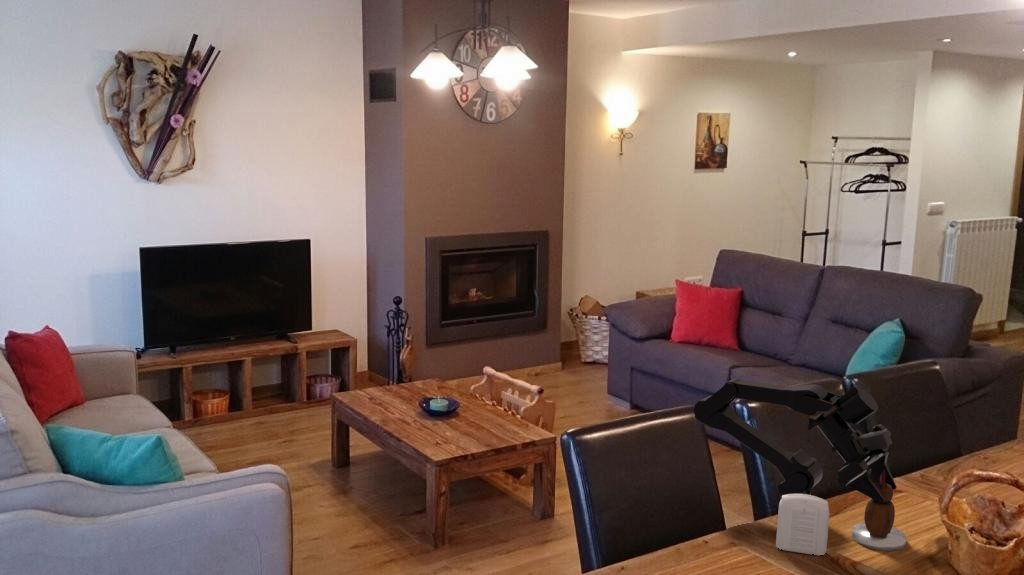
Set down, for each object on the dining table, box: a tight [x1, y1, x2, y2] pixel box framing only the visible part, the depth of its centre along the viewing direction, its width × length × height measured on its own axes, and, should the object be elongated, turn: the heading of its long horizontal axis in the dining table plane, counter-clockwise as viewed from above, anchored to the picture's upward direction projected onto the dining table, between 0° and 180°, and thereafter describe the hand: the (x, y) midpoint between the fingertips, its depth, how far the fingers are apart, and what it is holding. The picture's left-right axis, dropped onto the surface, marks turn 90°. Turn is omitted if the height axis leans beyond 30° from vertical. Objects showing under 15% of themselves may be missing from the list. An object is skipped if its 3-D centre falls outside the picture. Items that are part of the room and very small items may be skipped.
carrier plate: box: [851, 521, 907, 552], centre depth 197 cm, size 11×11×2 cm
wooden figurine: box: [863, 470, 896, 536], centre depth 195 cm, size 7×6×15 cm
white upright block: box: [775, 494, 830, 556], centre depth 190 cm, size 10×4×12 cm, turn 72°
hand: (888, 495), depth 194 cm, fingers open, 9 cm apart
